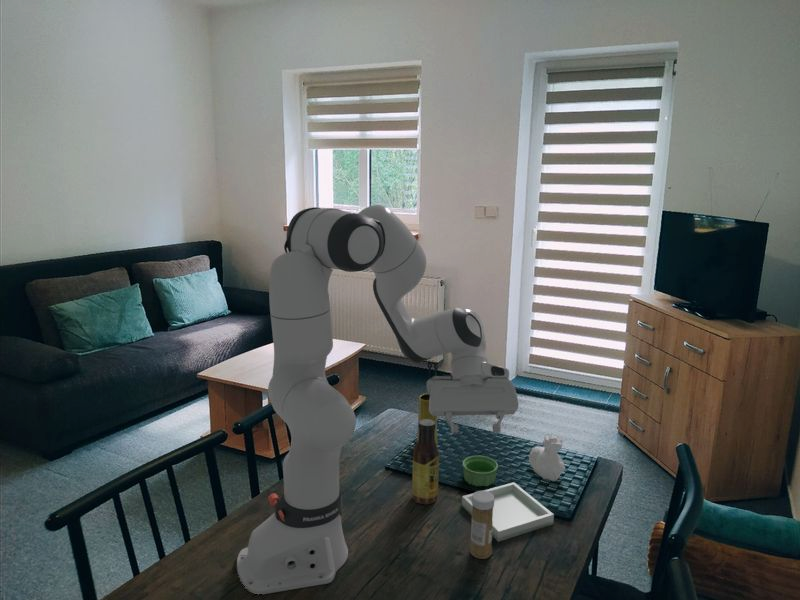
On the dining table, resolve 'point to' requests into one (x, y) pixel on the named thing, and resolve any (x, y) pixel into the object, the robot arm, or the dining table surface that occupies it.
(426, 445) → the sauce bottle
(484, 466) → the ramekin
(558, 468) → the duck figurine
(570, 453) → the dining table surface
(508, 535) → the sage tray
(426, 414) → the vase
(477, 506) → the sprinkles bottle
